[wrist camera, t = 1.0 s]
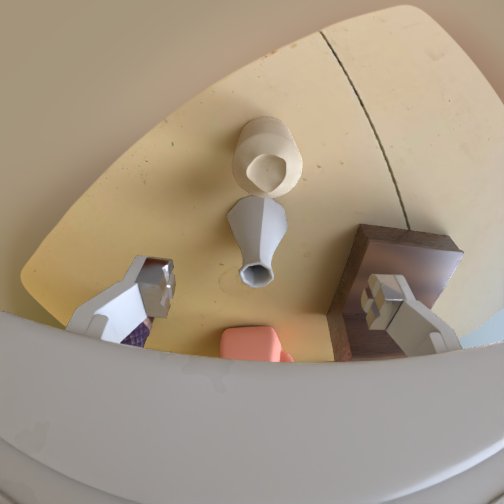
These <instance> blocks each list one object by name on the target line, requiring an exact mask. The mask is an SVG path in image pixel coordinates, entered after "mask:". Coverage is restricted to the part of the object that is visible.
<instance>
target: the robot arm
mask: <svg viewBox="0 0 504 504" xmlns="http://www.w3.org/2000/svg"><path fill="white" fill-rule="evenodd" d="M173 268H174V266H173V260H172V259H167V258H158V257H150V256H149V257H147V256H139V255H137V256H136V257H135V258H134V260H133V262H132V263H131V265H130V267H129V269H128V271H127V273H126V275H125V276H124V278H123V280H122V281H118V282H117V283H115V284H113V285H112V286H110V287H109V288H107V289H105V290H104V291H102V292H101V293H99V294H98V295H96V296H95V297H93V298H91V299H90V300H88V301H87V302H85V303H84V304H82V305H81V306H79V307H78V308H76V310H75V312H74V313H73V315H72V317H71V319H70V321H69V323H68V325H67V327H66V328H65V330H62V329H58V328H55V327H51V326H48V325H44V324H41V323H38V322H35V321H31V320H29V319H26V318H23V317H20V316H17V315H14V314H11V313H9V312H5V311H0V504H504V341H500V342H496V343H492V344H487V345H483V346H478V347H473V348H468V349H462V347H461V345H460V342H459V340H458V338H457V335H456V333H455V331H454V330H453V329H452V328H451V327H450V326H449V325H448V324H446V323H445V322H444V321H443V320H442V319H441V318H439V317H438V316H437V315H436V314H435V313H433V312H432V311H431V310H430V309H428V308H427V307H426V306H425V305H424V304H422V303H421V302H420V301H416V299H415V297H414V295H413V293H412V291H411V289H410V287H409V285H408V283H407V282H406V280H405V278H404V276H403V275H394V274H392V275H387V274H371V275H370V277H369V279H368V283H369V285H368V286H367V287H366V288H364V290H363V293H362V297H361V305H362V308H363V310H364V311H365V312H366V313H367V316H366V321H367V324H368V328H369V330H386V331H387V333H388V334H389V335H390V336H391V337H392V338H393V340H394V341H395V342H396V343H397V344H398V345H399V347H400V348H401V349H402V350H403V351H404V352H405V354H406V355H407V356H408V357H405V358H395V359H383V360H369V361H350V362H272V361H252V360H238V359H225V358H215V357H205V356H196V355H188V354H180V353H173V352H166V351H160V350H153V349H147V348H142V347H136V346H131V345H126V344H121V343H120V342H121V341H122V340H123V339H124V338H125V337H126V336H128V335H129V334H130V333H131V332H132V331H133V330H134V329H135V328H136V327H137V326H138V325H139V324H140V323H141V322H142V321H144V320H145V319H146V318H147V316H150V317H159V318H167V316H168V312H169V309H170V300H171V299H172V298H173V296H174V293H175V286H176V282H175V275H174V274H173V273H172V270H173Z"/></svg>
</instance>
